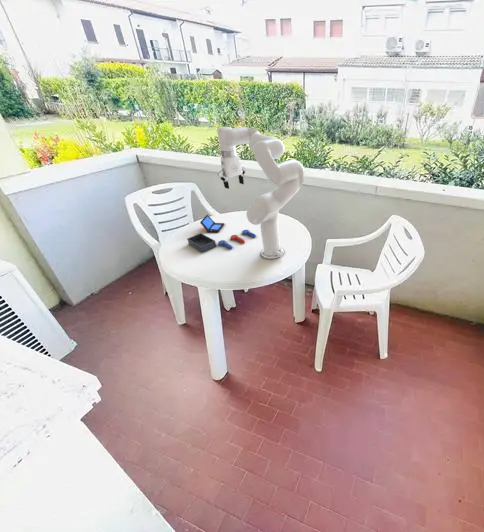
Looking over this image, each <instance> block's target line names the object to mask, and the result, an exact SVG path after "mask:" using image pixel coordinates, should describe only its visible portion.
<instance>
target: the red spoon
mask: <svg viewBox="0 0 484 532" xmlns="http://www.w3.org/2000/svg"><path fill="white" fill-rule="evenodd" d="M230 239H231V240H232V241H237V242H239V243H241V244H245V241H246V240H245V239H243V238H241V237H239V236H238V235H237V234H232V235H230Z"/></svg>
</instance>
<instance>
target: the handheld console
mask: <svg viewBox="0 0 484 532" xmlns="http://www.w3.org/2000/svg"><path fill="white" fill-rule="evenodd" d="M200 225H201V226H202V227H203V228H204V229H205V230H206V233H220V231H221V230H222V229H223V227H224V226H225V223H224V222H215V221H214V220H213V219H212V218H211V216H210V215H209V214H206V215H205V216H204V217H203V218H202V220H201V221H200Z"/></svg>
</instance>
